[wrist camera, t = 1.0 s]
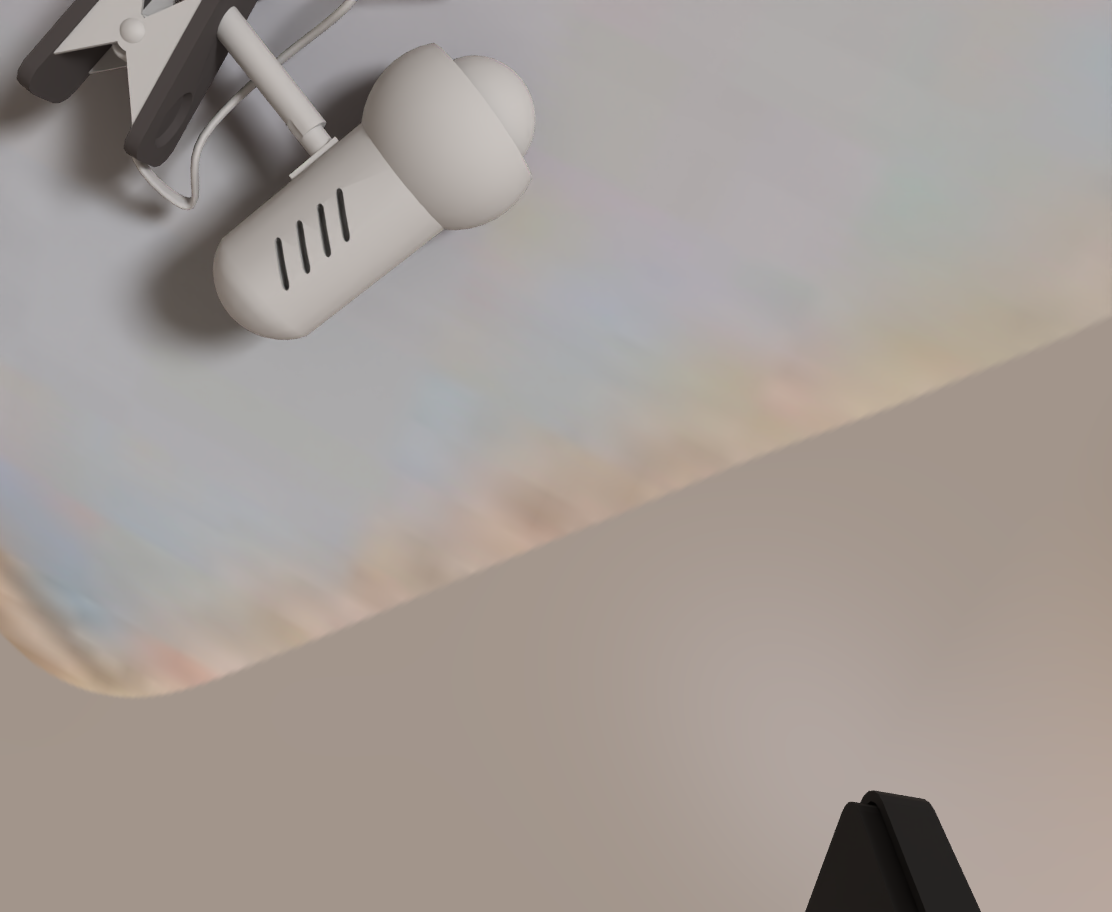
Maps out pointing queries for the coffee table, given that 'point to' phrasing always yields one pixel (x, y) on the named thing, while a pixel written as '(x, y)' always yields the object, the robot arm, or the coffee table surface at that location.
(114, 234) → the coffee table surface
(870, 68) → the coffee table surface
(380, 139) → the clip-on lamp
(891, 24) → the coffee table surface
